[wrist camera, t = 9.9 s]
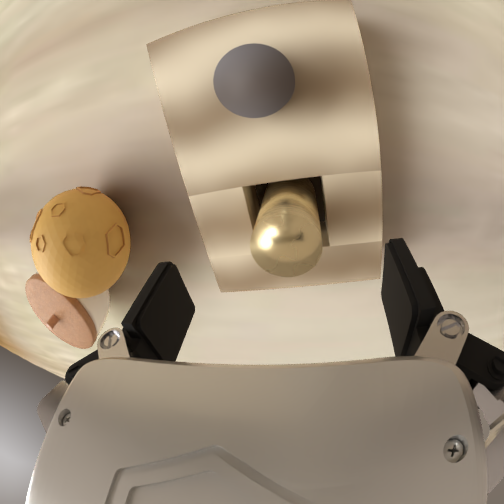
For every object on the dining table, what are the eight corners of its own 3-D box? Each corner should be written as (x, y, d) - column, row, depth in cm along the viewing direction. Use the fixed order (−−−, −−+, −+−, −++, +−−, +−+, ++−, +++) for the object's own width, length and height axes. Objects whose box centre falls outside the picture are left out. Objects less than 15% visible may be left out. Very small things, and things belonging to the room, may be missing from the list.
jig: (171, 49, 16) (121, 39, 11) (341, 15, 13) (360, -17, 7) (231, 265, 26) (211, 317, 21) (370, 251, 23) (388, 304, 17)
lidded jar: (122, 319, 34) (91, 371, 27) (63, 286, 34) (28, 330, 26) (126, 262, 29) (80, 321, 21) (57, 228, 28) (8, 272, 20)
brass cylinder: (261, 175, 21) (242, 219, 15) (311, 168, 20) (318, 210, 14) (270, 220, 23) (257, 279, 17) (318, 215, 22) (325, 274, 16)
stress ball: (135, 261, 29) (160, 278, 21) (62, 299, 25) (57, 334, 17) (103, 178, 26) (115, 160, 18) (26, 215, 21) (3, 214, 13)
